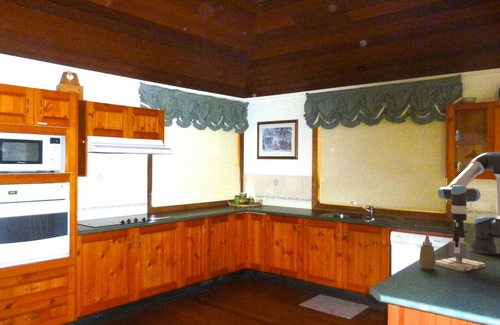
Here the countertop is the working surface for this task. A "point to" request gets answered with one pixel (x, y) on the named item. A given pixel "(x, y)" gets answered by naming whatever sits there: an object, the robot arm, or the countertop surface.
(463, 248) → the grey block
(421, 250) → the squeeze bottle
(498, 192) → the robot arm
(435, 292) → the countertop surface
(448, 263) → the base
